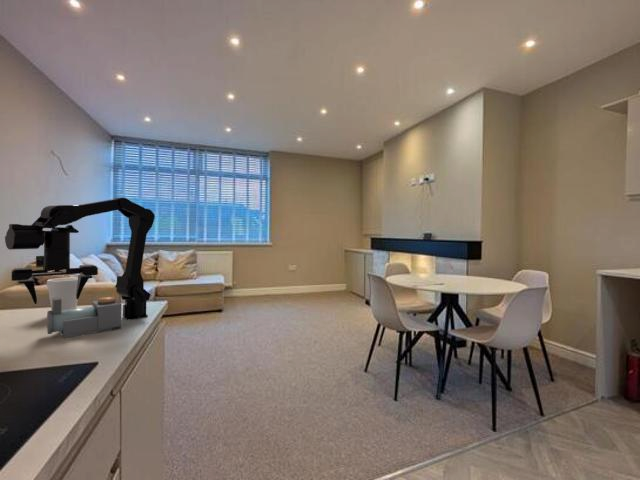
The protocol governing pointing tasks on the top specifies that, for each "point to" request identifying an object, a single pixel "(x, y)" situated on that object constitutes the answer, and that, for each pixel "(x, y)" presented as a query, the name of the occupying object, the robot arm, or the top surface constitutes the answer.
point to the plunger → (106, 300)
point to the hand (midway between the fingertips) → (57, 301)
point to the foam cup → (63, 291)
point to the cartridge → (65, 315)
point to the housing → (94, 321)
